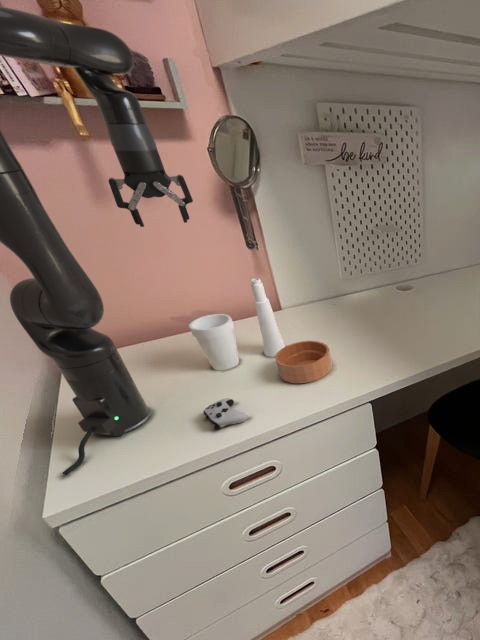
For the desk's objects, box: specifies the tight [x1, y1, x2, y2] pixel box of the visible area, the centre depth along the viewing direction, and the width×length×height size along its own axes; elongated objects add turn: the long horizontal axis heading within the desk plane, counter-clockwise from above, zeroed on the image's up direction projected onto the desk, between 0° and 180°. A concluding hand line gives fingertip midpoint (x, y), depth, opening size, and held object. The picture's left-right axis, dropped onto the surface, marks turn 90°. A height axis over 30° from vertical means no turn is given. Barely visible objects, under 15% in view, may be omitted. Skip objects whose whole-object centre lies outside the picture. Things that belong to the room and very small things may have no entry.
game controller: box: [202, 397, 249, 430], centre depth 90 cm, size 10×5×6 cm
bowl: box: [274, 340, 333, 384], centre depth 107 cm, size 13×13×6 cm
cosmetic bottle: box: [250, 278, 287, 358], centre depth 110 cm, size 6×6×22 cm
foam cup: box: [188, 313, 240, 371], centre depth 106 cm, size 10×9×13 cm
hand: (164, 224), depth 95 cm, fingers open, 8 cm apart
